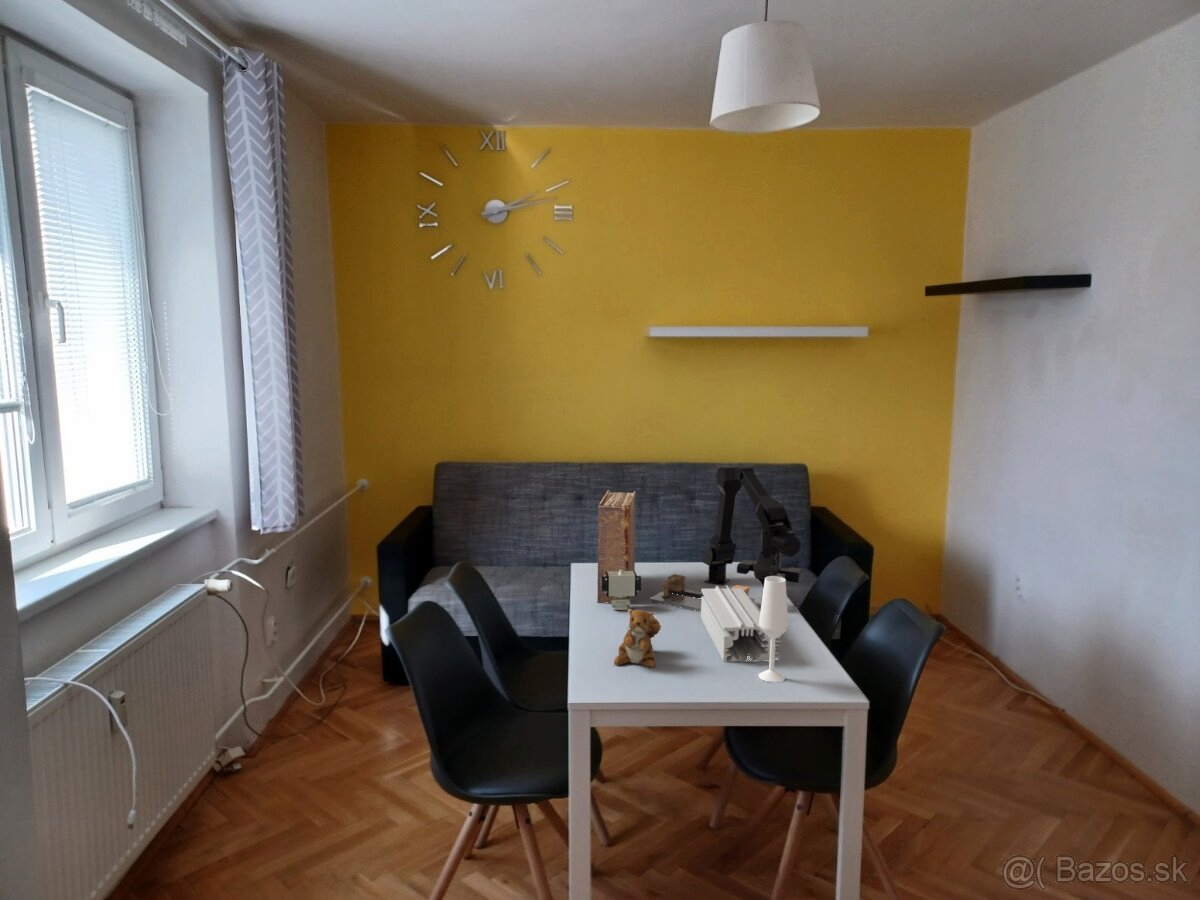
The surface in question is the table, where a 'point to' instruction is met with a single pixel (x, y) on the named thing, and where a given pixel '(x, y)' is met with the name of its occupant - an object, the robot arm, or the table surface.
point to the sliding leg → (746, 589)
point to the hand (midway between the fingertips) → (768, 599)
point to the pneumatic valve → (620, 587)
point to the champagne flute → (773, 619)
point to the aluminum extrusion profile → (735, 625)
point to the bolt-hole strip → (677, 601)
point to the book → (615, 536)
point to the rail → (689, 593)
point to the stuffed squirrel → (639, 639)
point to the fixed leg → (674, 583)
